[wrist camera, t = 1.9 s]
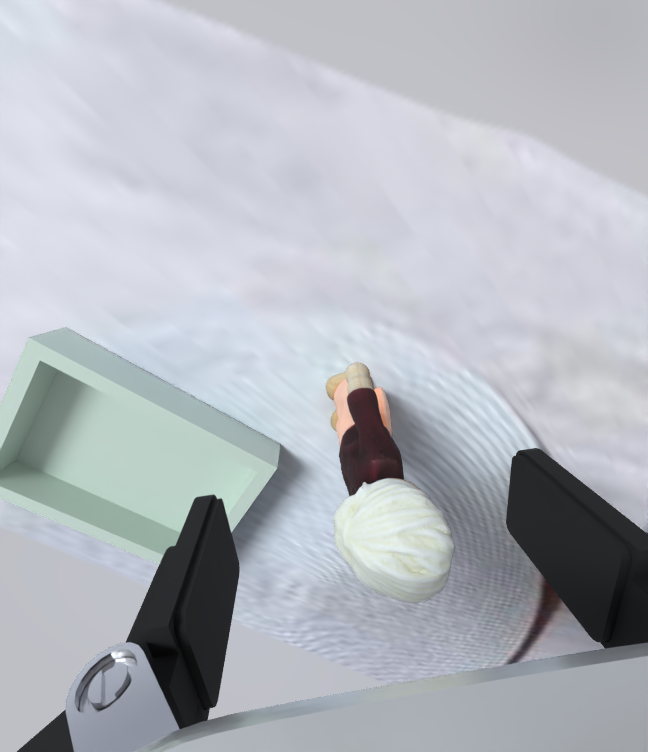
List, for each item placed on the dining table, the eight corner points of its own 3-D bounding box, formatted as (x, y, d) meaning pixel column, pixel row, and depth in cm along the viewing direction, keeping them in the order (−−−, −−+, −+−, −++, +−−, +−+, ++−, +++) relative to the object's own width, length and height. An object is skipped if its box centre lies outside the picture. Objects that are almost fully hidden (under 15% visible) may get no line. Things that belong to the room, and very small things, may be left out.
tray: (280, 444, 22) (277, 468, 19) (208, 547, 24) (197, 580, 21) (65, 327, 19) (28, 337, 16) (6, 458, 21) (-34, 484, 18)
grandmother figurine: (394, 440, 22) (503, 658, 10) (337, 456, 22) (376, 690, 10) (366, 326, 19) (466, 433, 7) (301, 345, 20) (298, 481, 8)
